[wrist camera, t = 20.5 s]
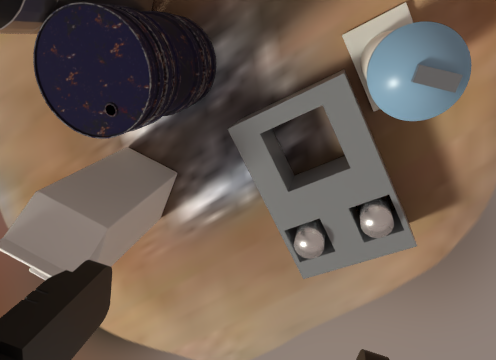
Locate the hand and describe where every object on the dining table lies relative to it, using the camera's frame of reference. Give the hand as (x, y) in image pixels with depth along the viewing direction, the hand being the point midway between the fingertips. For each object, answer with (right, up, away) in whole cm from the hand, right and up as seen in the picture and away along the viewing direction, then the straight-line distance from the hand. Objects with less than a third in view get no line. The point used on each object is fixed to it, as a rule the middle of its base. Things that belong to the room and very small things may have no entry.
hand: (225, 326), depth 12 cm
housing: (+9, +6, +30) cm, 32 cm away
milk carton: (-12, +4, +36) cm, 38 cm away
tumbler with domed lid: (+14, +16, +24) cm, 32 cm away
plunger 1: (+8, 0, +32) cm, 33 cm away
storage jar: (-7, +17, +30) cm, 35 cm away
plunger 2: (+14, +2, +29) cm, 33 cm away
